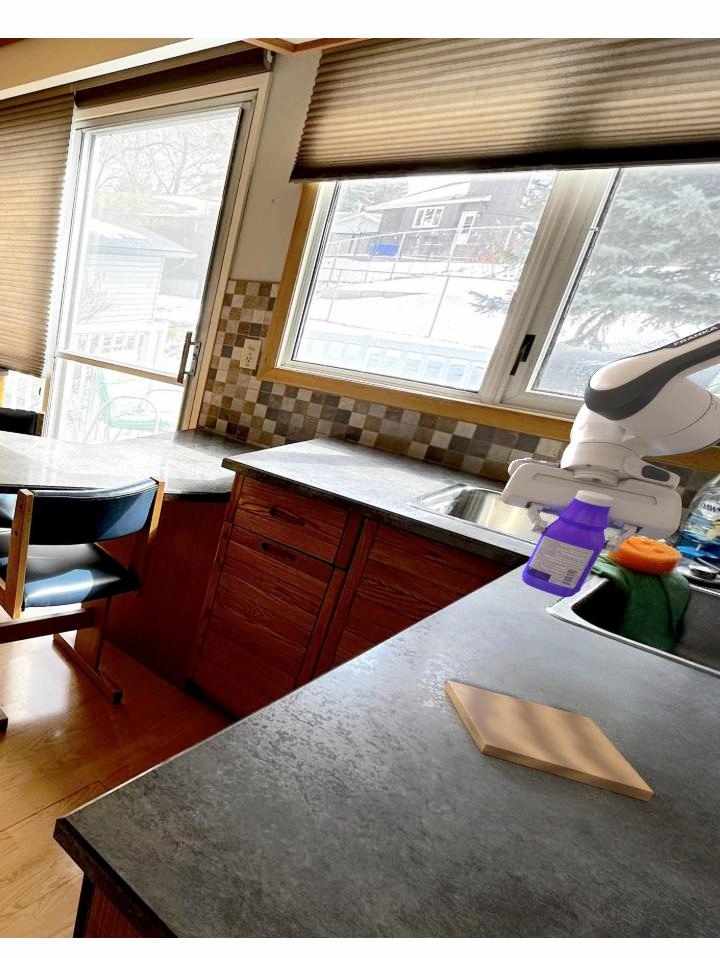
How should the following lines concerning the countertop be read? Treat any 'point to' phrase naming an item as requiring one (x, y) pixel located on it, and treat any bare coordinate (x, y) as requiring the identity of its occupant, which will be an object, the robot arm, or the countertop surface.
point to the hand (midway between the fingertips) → (573, 540)
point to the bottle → (570, 546)
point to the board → (545, 740)
